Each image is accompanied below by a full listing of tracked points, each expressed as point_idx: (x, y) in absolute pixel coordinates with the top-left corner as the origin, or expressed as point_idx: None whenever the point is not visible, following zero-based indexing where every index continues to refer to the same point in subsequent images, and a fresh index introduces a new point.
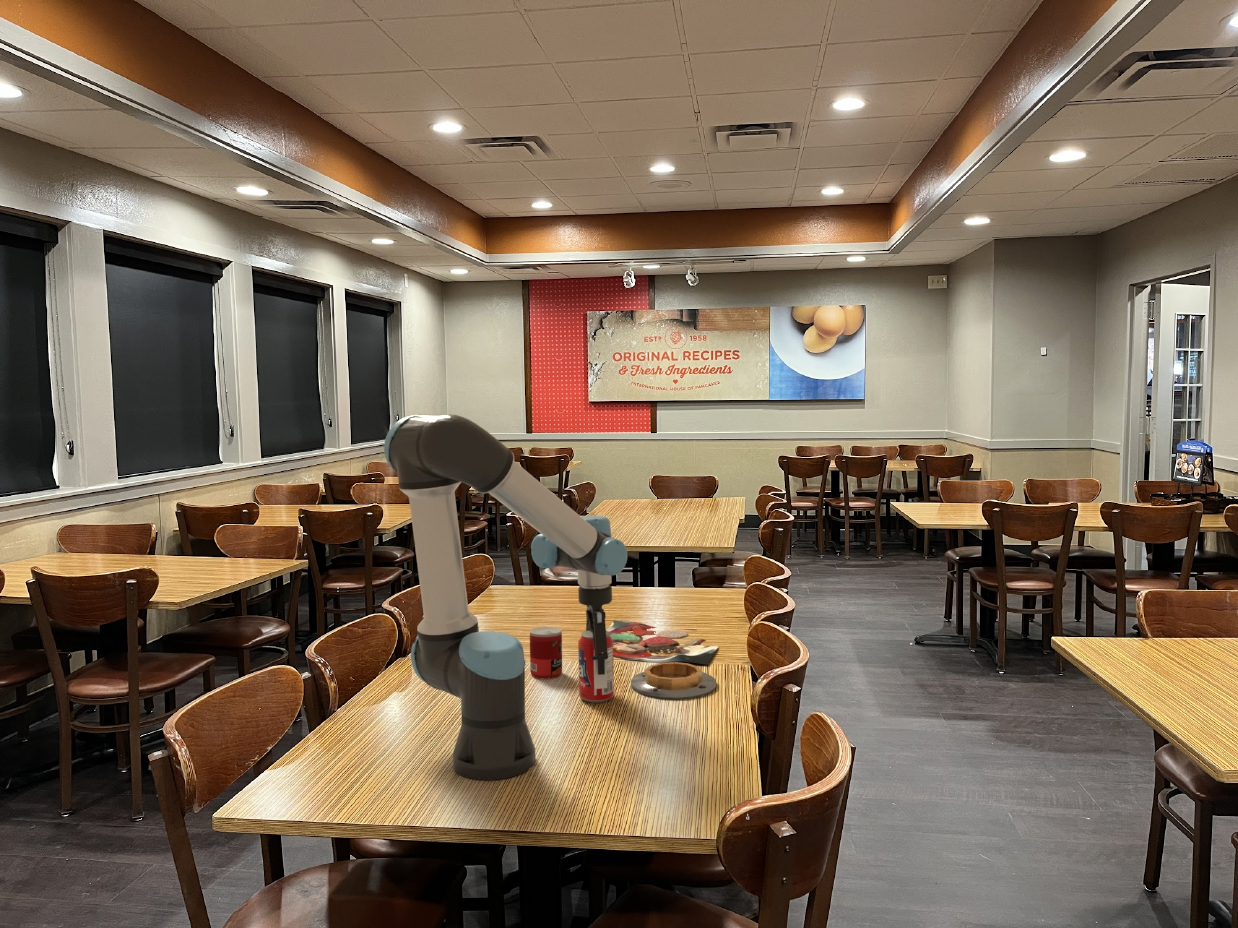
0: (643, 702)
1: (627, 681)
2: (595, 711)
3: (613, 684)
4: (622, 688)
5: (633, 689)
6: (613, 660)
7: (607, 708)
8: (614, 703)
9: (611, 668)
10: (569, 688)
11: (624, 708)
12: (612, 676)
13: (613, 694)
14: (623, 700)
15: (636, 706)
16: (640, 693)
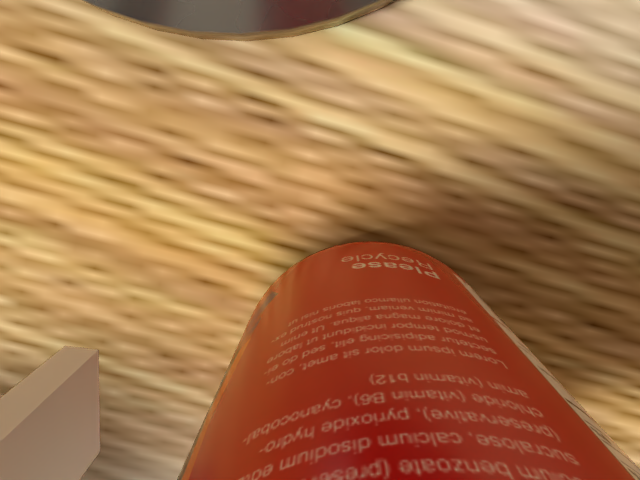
0: (571, 46)
1: (39, 27)
2: (595, 406)
3: (448, 279)
4: (203, 117)
5: (260, 38)
6: (536, 414)
7: (576, 327)
8: (503, 260)
9: (583, 409)
10: (126, 451)
11: (628, 222)
12: (511, 333)
13: (428, 255)
14: (468, 184)
15: (630, 127)
16: (377, 9)
